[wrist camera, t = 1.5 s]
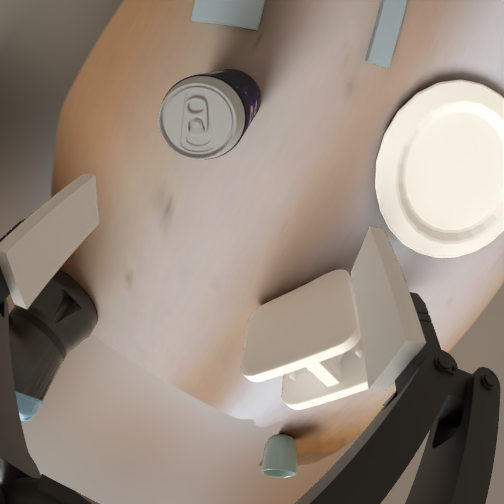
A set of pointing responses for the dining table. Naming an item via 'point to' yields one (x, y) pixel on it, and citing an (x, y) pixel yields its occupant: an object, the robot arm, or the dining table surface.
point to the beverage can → (208, 113)
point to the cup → (280, 456)
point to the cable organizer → (308, 342)
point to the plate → (444, 169)
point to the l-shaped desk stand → (251, 8)
